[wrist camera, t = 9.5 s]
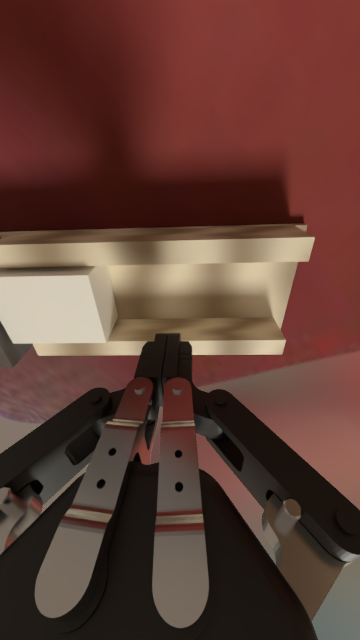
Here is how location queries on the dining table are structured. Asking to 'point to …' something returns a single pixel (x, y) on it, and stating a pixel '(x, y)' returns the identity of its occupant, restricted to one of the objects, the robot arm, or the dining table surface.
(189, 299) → the birch chute
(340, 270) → the dining table surface
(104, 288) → the off-white block
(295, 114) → the dining table surface
